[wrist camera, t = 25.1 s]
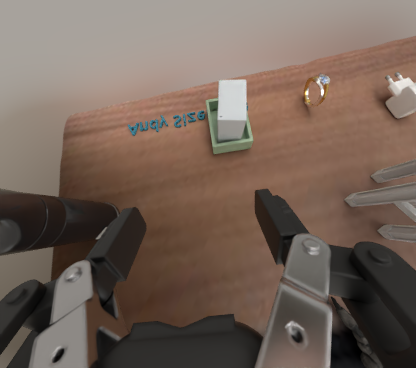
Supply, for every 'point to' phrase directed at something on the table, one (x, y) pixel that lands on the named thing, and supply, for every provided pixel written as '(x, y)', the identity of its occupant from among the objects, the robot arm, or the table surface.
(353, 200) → the stool
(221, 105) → the cosmetics box
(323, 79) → the ring
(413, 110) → the power adapter
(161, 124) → the nameplate
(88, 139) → the table surface
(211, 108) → the holder
